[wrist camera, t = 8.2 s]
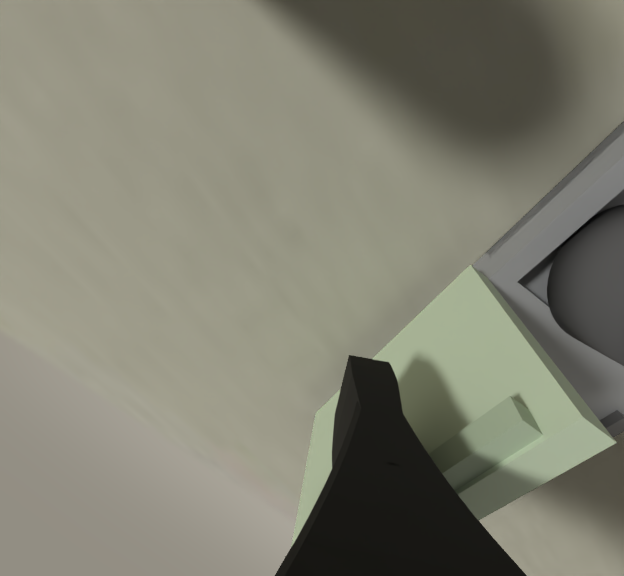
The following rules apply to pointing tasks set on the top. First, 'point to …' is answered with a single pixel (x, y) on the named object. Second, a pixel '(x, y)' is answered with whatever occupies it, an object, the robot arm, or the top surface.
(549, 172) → the top surface
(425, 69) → the top surface
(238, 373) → the top surface
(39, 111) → the top surface
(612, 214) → the dark grey pebble
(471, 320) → the cover
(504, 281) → the grey ball tray
